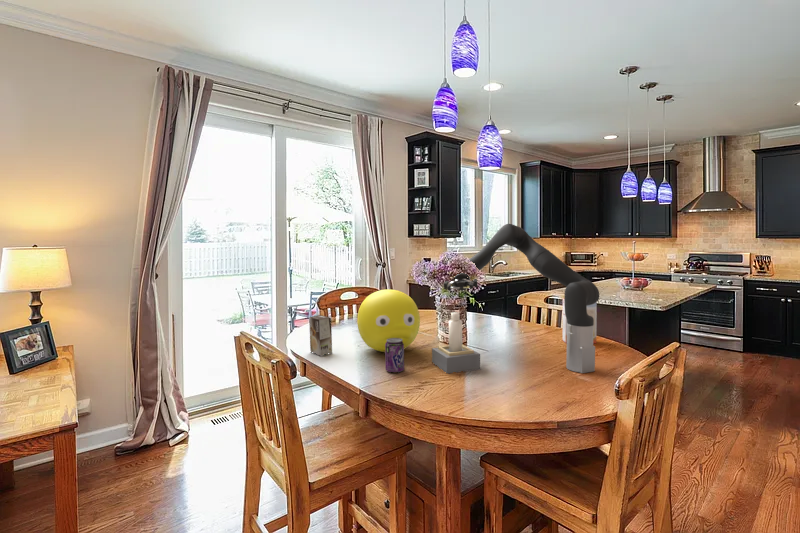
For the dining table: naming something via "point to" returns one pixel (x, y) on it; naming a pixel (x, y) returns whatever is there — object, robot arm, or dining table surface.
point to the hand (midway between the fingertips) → (460, 287)
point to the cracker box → (590, 311)
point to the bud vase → (455, 333)
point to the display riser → (455, 359)
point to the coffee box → (320, 335)
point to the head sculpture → (388, 318)
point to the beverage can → (394, 355)
